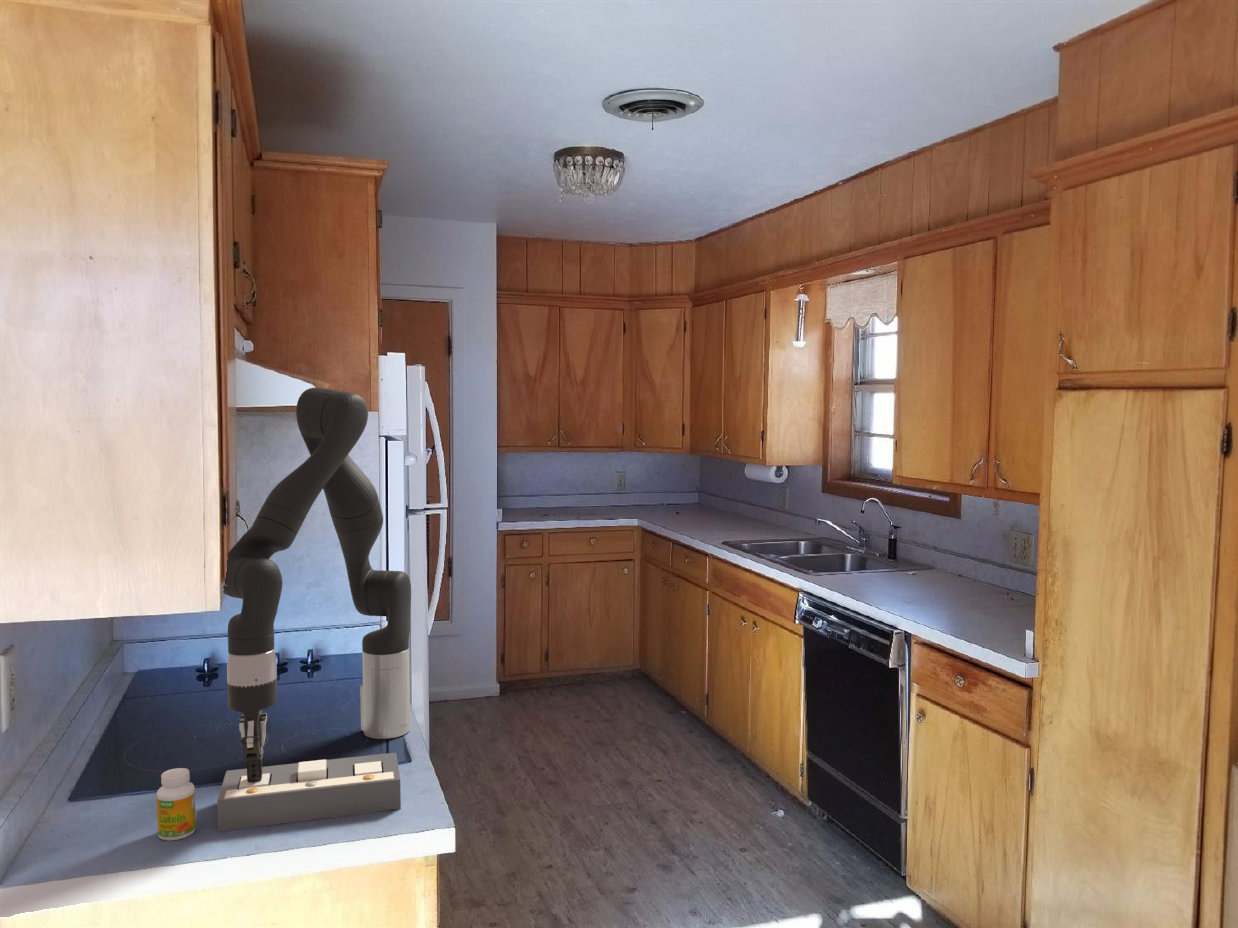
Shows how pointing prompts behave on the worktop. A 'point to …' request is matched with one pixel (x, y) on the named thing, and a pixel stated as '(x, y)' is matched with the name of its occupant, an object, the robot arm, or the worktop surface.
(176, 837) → the supplement bottle
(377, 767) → the far key
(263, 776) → the near key
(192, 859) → the worktop surface
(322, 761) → the middle key
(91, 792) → the worktop surface
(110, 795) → the worktop surface
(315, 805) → the button board
